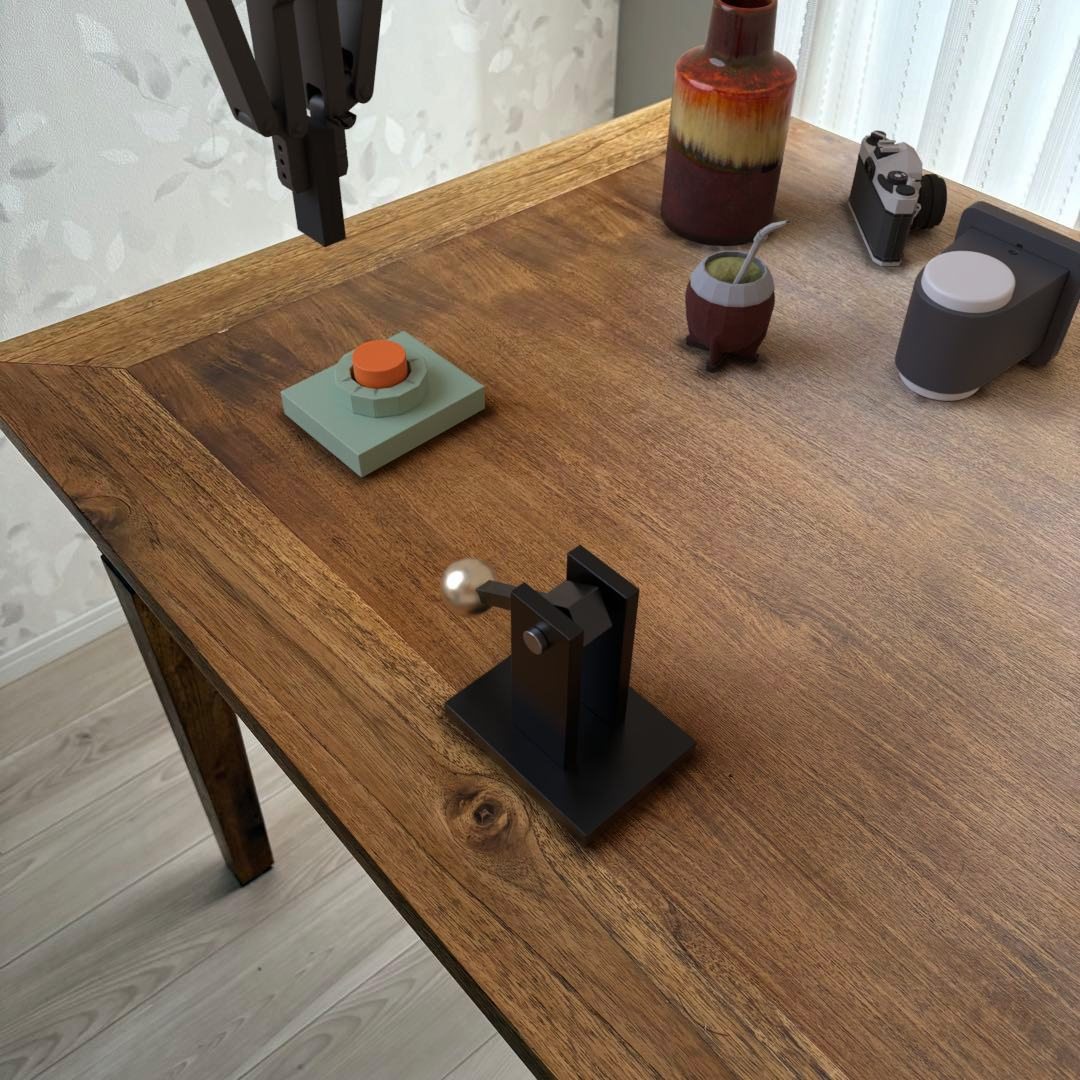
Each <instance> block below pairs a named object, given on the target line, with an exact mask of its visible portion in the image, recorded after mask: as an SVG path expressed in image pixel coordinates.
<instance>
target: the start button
mask: <svg viewBox="0 0 1080 1080" xmlns="http://www.w3.org/2000/svg"><path fill="white" fill-rule="evenodd" d="M354 350H355V351H354V352H353V355H352V362H353V369H354V376H355V379H356V381H357V382H358V383H359V384H360V385H361V386H363V387H367V388H372V389H384V388H391V387H394V386H396V385H398V384H399V383H401V382H403V381H404V380H405V378H406V376H407V361H406V352H405V350H404V348H403V347H402V346H401V345H399V344H398V343H396V342H393V341H389V340H386V339H374V340H370V341H367V342H364V343H362V344H360V345H359V346H357V347H356V348H355V349H354Z"/></svg>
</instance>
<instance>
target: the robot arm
mask: <svg viewBox="0 0 1080 1080" xmlns="http://www.w3.org/2000/svg"><path fill="white" fill-rule="evenodd" d="M184 2H185V4H186V6H187V9H188V11H189V13H190V16H191V18H192V21H193V23H194V25H195V28H196V29H197V32H198V33H197V34H198V35H199V38H200V41H201V43H202V45H203V47H204V49H205V53H206V54H207V57H208V59H209V62H210V64H211V66H212V68H213V71H214V74H215V75H216V78H217V80H218V84H219V85H220V87H221V90H222V93H223V95H224V98H225V100H226V102H227V104H228V107H229V109H230V111H231V114H232V116H233V118H234V119H235V120H236V121H237V122H239V123H241V124H242V125H244V126H245V127H247V128H248V129H250V130H252V131H253V132H256V133H257V134H259V135H261V137H264V138H270V137H271V141H272V147H273V154H274V160H275V166H276V173H277V178H278V180H279V182H280V183H281V185H282V186H283V187H285V188H286V189H288V190H290V191H291V193H292V200H293V206H294V207H293V208H294V213H295V220H296V227H297V230H298V231H299V232H301V233H302V234H304V235H305V236H307V237H308V238H310V239H311V240H313V241H314V242H316V243H317V244H319V245H321V246H322V247H323V248H327V247H329V246H332V245H334V244H337V243H339V242H341V241H344V240H346V239H347V235H346V227H345V226H346V225H345V218H344V217H345V216H344V209H343V199H342V190H341V181H340V178H341V177H344V176H347V174H348V169H349V157H348V147H347V146H348V145H347V138H346V130H347V131H348V130H350V129H352V128H353V126H355V124H356V122H357V117H358V115H357V114H355V113H354V112H352V111H350V110H351V109H353V108H354V107H355V106H356V105H358V104H361V105H364V104H367V103H370V101H371V100H372V98H373V95H374V92H375V91H374V90H375V81H376V71H377V63H378V54H379V53H378V51H379V43H380V42H379V41H380V32H381V23H382V14H383V3H384V0H245V4H246V5H245V6H246V11H247V18H248V19H247V20H248V24H249V30H250V37H251V43H252V49H253V52H252V49H251V47H250V44H249V41H248V39H247V35H246V33H245V31H244V28H243V25H242V23H241V20H240V18H239V15H238V12H237V10H236V7H235V5H234V2H233V0H184ZM308 111H309V115H308Z"/></svg>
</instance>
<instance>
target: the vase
mask: <svg viewBox="0 0 1080 1080" xmlns="http://www.w3.org/2000/svg"><path fill="white" fill-rule="evenodd" d="M778 2H779V1H778V0H712V3H711V9H710V13H709V14H710V15H709V20H708V25H707V30H706V34H705V35H706V36H705V41H704V43H703V44H700V45H697V46H695V47H692V48H690V49H687V50H686V51H685V52H684V53H682V55H680V57H679V58H678V59H677V61H676V63H675V67H674V73H673V80H672V82H673V83H672V91H671V102H670V112H669V121H668V131H667V140H666V141H667V143H666V150H665V151H666V152H665V163H664V171H663V172H664V173H663V181H662V193H661V203H660V216H661V217H660V218H661V220H662V222H663V223H664V225H665V226H666V228H668V229H669V230H670V231H671V232H673V233H675V234H676V235H678V236H680V237H682V238H684V239H686V240H690V241H691V242H695V243H700V244H706V245H711V246H712V245H715V246H731V245H741V244H746V243H749V242H752V241H754V238H755V236H756V234H757V233H758V231H759V230H760V229H763V228H764V227H766V226H767V225H769V224H771V223H773V217H774V211H775V207H776V201H777V200H776V199H777V195H778V190H779V183H780V179H781V174H782V173H781V172H782V167H783V161H784V156H785V150H786V146H787V145H786V144H787V139H788V134H789V129H790V128H789V127H790V121H791V116H792V109H793V106H794V105H793V104H794V99H795V94H796V93H795V92H796V86H797V80H798V71H797V69H796V66H795V65H794V63H793V62H792V60H791V59H789V58H788V57H787V56H785V54H782V53H781V52H779V51H777V50H775V40H776V31H777V30H776V29H777V17H778V6H779V5H778V4H779V3H778Z"/></svg>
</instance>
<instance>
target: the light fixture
mask: <svg viewBox="0 0 1080 1080" xmlns="http://www.w3.org/2000/svg"><path fill="white" fill-rule="evenodd" d="M957 224H958V225H957V228H956V231H955V235H954V238H953V241H952V242H951V243H950V244H949V245H948V246H947V247H946V248H944V249H943V250H942V251H941V252H940V253H938V255H936V256H934V257H933V258H932V259H930V260H929V261H928V262H927V263H926V265H925V266H924V267H923V268H922V269H921V270H920V271H919V273H918V274H917V275H916V277H915V279H914V283H913V286H912V290H911V294H910V298H909V301H908V305H907V309H906V313H905V317H904V321H903V325H902V328H901V333H900V336H899V340H898V344H897V347H896V352H895V355H894V356H895V357H894V364H895V367H896V369H897V370H898V375H899V378H900V379H901V381H902V383H903V384H904V385H905V386H906V387H907V388H908V389H909V390H911V391H912V392H914V393H916V394H917V395H919V396H922V397H924V398H927V399H930V400H935V401H942V402H943V401H944V402H952V401H958V400H959V401H960V400H964V399H966V398H969V397H971V396H973V395H974V394H976V393H977V391H979V389H980V388H981V387H983V386H985V385H986V384H988V383H989V382H991V381H992V380H994V379H995V378H997V377H998V376H1000V375H1001V374H1003V373H1004V372H1006V371H1008V370H1009V369H1010V368H1012V367H1013V366H1015V365H1016V364H1018V363H1019V362H1021V361H1022V360H1024V361H1026V362H1027V363H1029V364H1031V365H1034V366H1037V367H1044V366H1047V365H1048V364H1049V363H1050V362H1051V361H1052V360H1054V359H1055V358H1056V357H1057V356H1058V355H1059V353H1060V351H1061V348H1062V346H1063V343H1064V340H1065V338H1066V336H1067V333H1068V331H1069V328H1070V325H1071V324H1072V321H1073V318H1074V316H1075V313H1076V310H1077V308H1078V306H1079V304H1080V241H1078V240H1076V239H1074V238H1072V237H1069V236H1067V235H1065V234H1062V233H1060V232H1057V231H1055V230H1053V229H1051V228H1048V227H1046V226H1043V225H1041V224H1039V223H1036V222H1034V221H1031V220H1029V219H1027V218H1026V217H1025V218H1024V217H1023V216H1020V215H1018V214H1015V213H1013V212H1011V211H1008V210H1006V209H1003V208H1001V207H998V206H996V205H994V204H992V203H990V202H986V201H985V200H984V201H983V200H977V201H974V202H973V203H972V204H970V205H968V206H967V207H966V208H965V209H964V210H962V212H961V215H960V217H959V221H958V223H957Z"/></svg>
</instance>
